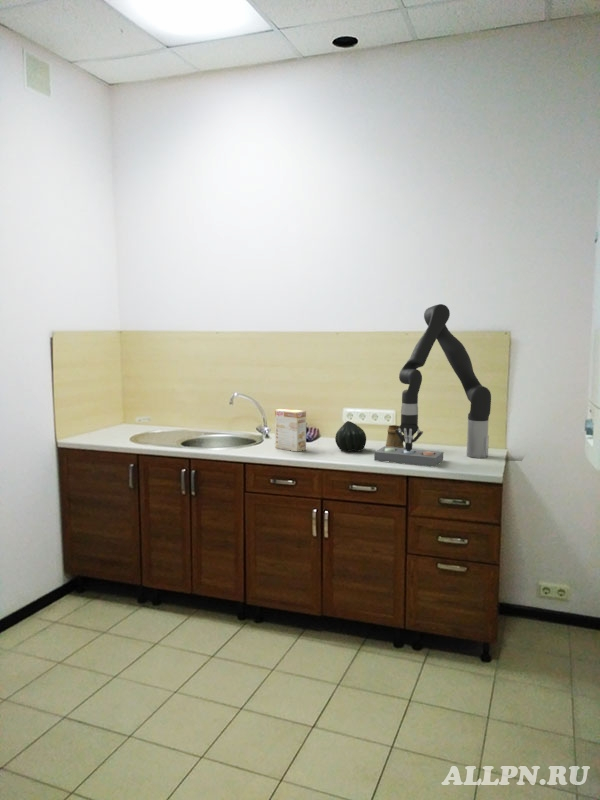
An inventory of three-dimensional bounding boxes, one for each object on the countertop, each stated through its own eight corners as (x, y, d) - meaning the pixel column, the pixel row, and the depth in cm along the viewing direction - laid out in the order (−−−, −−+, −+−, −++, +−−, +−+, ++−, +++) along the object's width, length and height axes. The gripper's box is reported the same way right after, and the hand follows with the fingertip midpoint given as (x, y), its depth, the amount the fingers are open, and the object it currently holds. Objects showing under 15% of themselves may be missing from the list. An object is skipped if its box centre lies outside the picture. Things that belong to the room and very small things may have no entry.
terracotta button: (435, 459, 276) (435, 452, 276) (432, 461, 272) (432, 454, 271) (424, 458, 278) (424, 451, 278) (421, 460, 274) (421, 453, 273)
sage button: (396, 455, 284) (396, 448, 284) (393, 457, 280) (393, 450, 279) (386, 454, 286) (386, 447, 286) (383, 456, 282) (383, 449, 281)
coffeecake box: (306, 449, 302) (306, 410, 300) (296, 452, 297) (296, 412, 295) (284, 445, 312) (284, 407, 310) (274, 448, 307) (274, 409, 305)
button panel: (443, 460, 279) (443, 451, 279) (435, 466, 267) (435, 457, 266) (384, 454, 292) (384, 446, 291) (374, 460, 279) (374, 451, 279)
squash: (364, 443, 290) (365, 417, 298) (333, 444, 292) (334, 417, 301) (366, 458, 301) (367, 432, 310) (336, 458, 304) (337, 432, 312)
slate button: (415, 457, 280) (415, 450, 280) (412, 459, 276) (412, 452, 275) (405, 456, 282) (405, 449, 282) (402, 458, 278) (402, 451, 277)
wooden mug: (409, 451, 298) (409, 415, 296) (382, 449, 304) (383, 413, 302) (414, 448, 306) (415, 412, 303) (388, 445, 312) (389, 410, 310)
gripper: (426, 413, 277) (425, 450, 279) (397, 411, 283) (397, 447, 285) (421, 415, 270) (420, 453, 272) (392, 413, 276) (392, 451, 278)
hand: (408, 450), depth 279 cm, fingers closed
